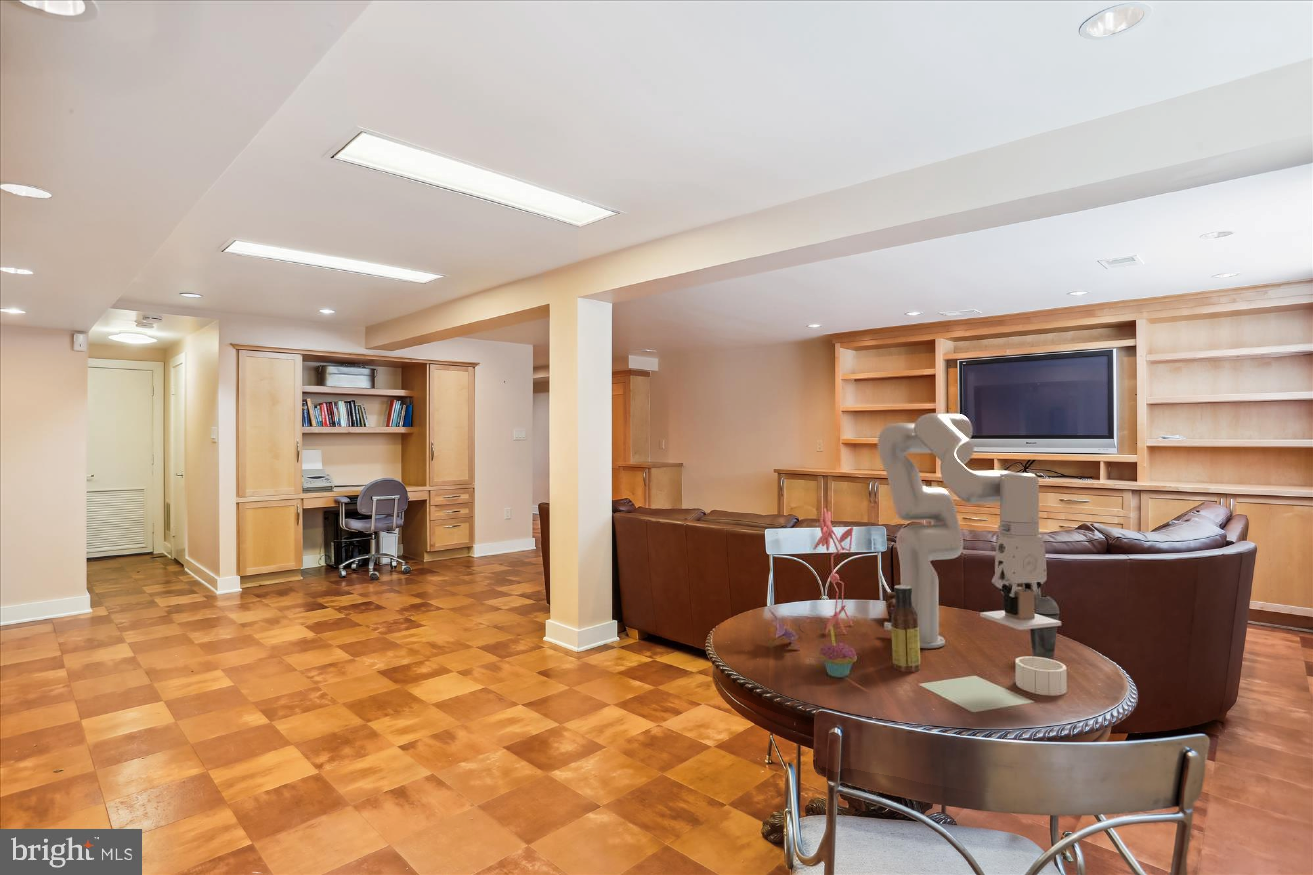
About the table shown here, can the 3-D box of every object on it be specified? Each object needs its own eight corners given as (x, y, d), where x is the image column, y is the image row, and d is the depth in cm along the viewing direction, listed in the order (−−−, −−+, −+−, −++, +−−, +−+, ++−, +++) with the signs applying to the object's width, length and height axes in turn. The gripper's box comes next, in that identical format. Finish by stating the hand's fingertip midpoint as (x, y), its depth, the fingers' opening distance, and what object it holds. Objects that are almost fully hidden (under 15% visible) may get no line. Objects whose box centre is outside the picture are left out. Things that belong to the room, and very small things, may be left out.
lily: (796, 662, 166) (811, 627, 168) (753, 641, 169) (768, 606, 171) (793, 662, 177) (807, 628, 180) (753, 641, 180) (767, 609, 183)
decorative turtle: (895, 613, 208) (897, 588, 207) (935, 629, 194) (937, 602, 194) (872, 616, 203) (874, 590, 203) (911, 632, 190) (914, 604, 189)
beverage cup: (1065, 663, 161) (1064, 581, 161) (1032, 661, 163) (1031, 580, 163) (1053, 653, 169) (1052, 575, 169) (1022, 651, 170) (1021, 574, 170)
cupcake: (836, 682, 150) (836, 629, 150) (811, 671, 157) (811, 620, 157) (864, 676, 154) (864, 624, 154) (838, 665, 161) (838, 616, 161)
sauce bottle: (919, 666, 160) (919, 584, 160) (921, 675, 154) (920, 590, 154) (891, 663, 162) (890, 582, 162) (891, 672, 156) (890, 588, 156)
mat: (973, 714, 132) (973, 712, 132) (918, 685, 147) (918, 684, 147) (1034, 703, 137) (1034, 701, 137) (975, 677, 152) (975, 675, 152)
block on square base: (1019, 629, 137) (1019, 597, 137) (980, 616, 148) (980, 585, 148) (1061, 625, 141) (1061, 593, 141) (1019, 612, 151) (1019, 582, 151)
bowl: (1016, 692, 143) (1016, 667, 143) (1015, 677, 152) (1014, 654, 152) (1068, 700, 139) (1068, 674, 139) (1063, 684, 147) (1063, 660, 147)
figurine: (861, 619, 201) (857, 504, 201) (842, 642, 178) (838, 513, 179) (811, 614, 208) (808, 503, 209) (787, 636, 186) (783, 512, 186)
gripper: (1001, 533, 138) (1002, 620, 138) (1064, 529, 143) (1064, 614, 143) (975, 528, 146) (975, 611, 146) (1035, 525, 150) (1035, 605, 150)
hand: (1019, 611), depth 144 cm, fingers closed on block on square base, 4 cm apart
